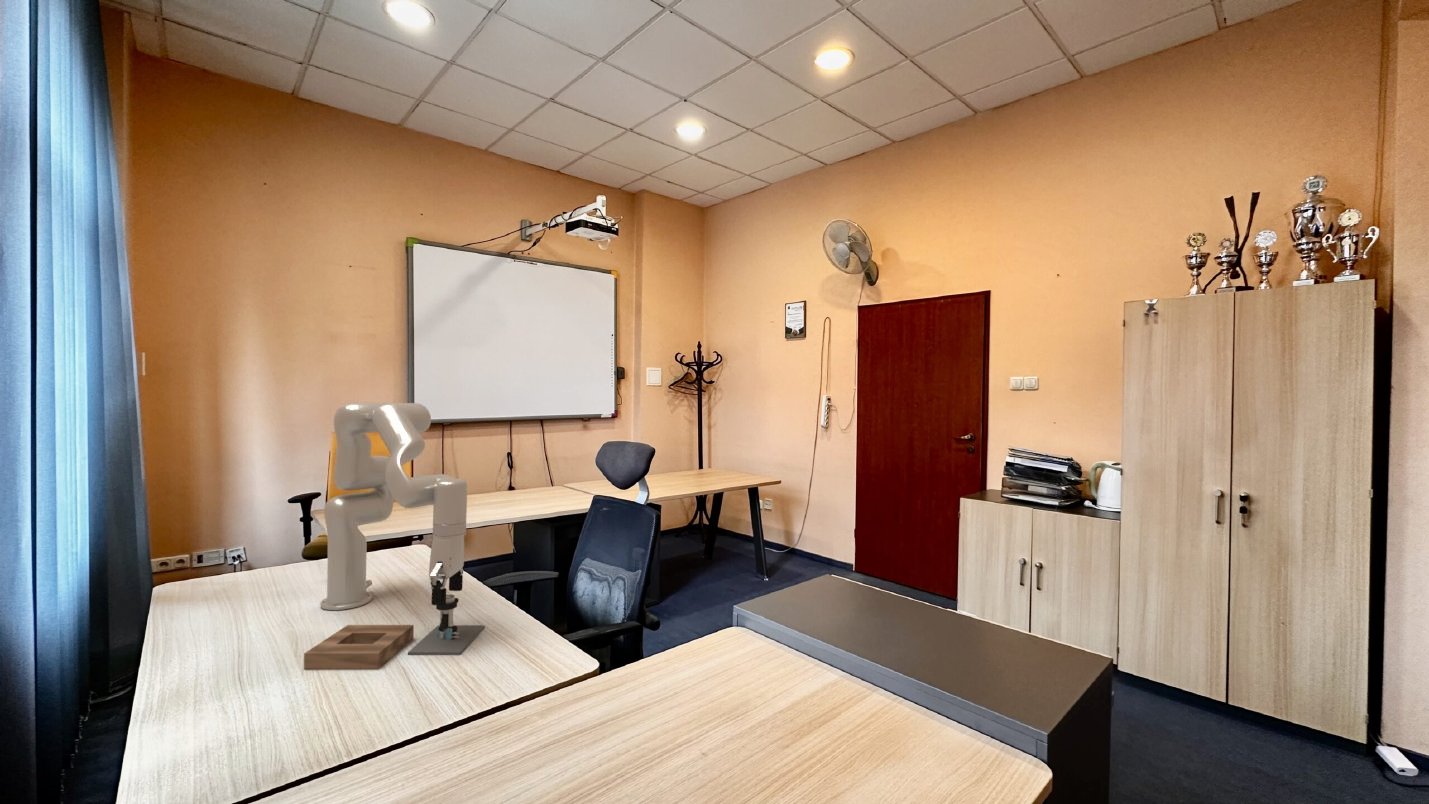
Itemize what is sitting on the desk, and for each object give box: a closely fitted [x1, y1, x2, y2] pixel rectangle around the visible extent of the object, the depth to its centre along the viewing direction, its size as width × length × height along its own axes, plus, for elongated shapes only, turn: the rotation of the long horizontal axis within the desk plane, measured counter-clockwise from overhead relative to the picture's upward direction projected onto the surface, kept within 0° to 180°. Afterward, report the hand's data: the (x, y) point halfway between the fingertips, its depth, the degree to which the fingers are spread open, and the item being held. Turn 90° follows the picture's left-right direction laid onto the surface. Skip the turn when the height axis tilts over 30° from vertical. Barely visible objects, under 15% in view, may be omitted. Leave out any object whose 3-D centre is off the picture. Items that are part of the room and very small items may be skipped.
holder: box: [303, 624, 415, 670], centre depth 134 cm, size 16×16×4 cm
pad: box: [407, 624, 486, 656], centre depth 142 cm, size 16×12×1 cm
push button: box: [435, 594, 460, 640], centre depth 142 cm, size 7×5×10 cm
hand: (447, 597), depth 142 cm, fingers open, 9 cm apart
